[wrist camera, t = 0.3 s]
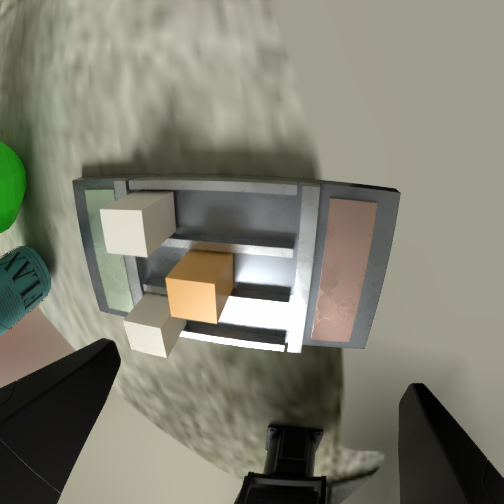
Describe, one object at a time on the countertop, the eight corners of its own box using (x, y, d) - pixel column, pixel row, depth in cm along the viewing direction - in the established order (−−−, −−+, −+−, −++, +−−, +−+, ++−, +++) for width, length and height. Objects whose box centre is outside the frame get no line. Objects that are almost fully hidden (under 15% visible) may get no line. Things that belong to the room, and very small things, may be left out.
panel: (362, 339, 23) (365, 357, 21) (106, 304, 27) (94, 316, 25) (395, 188, 18) (405, 197, 16) (81, 177, 21) (64, 183, 19)
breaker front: (176, 231, 20) (147, 257, 16) (139, 228, 21) (107, 252, 17) (173, 191, 19) (141, 210, 15) (135, 191, 19) (99, 209, 16)
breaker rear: (186, 323, 24) (166, 357, 20) (154, 317, 24) (131, 349, 20) (182, 294, 22) (160, 328, 19) (148, 289, 23) (123, 320, 19)
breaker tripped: (233, 287, 21) (217, 323, 17) (193, 282, 22) (171, 316, 18) (232, 252, 20) (214, 284, 16) (190, 248, 21) (165, 277, 17)
